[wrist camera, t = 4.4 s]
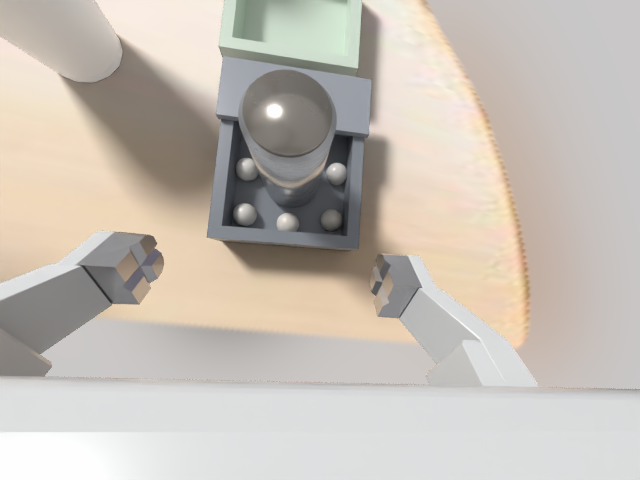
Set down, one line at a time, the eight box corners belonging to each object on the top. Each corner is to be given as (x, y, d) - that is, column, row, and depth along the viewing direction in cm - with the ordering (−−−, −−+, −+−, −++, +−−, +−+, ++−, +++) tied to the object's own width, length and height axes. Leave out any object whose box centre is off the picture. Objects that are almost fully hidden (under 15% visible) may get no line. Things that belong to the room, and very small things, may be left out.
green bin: (230, 79, 22) (218, 46, 19) (243, -27, 23) (233, -77, 20) (348, 96, 23) (358, 68, 20) (355, -5, 25) (364, -49, 21)
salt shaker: (280, 217, 21) (266, 177, 11) (254, 169, 21) (217, 86, 11) (327, 193, 21) (356, 133, 11) (302, 147, 21) (308, 49, 11)
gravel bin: (219, 241, 21) (200, 236, 17) (236, 93, 22) (223, 56, 18) (350, 251, 22) (362, 249, 18) (358, 110, 23) (371, 79, 19)
